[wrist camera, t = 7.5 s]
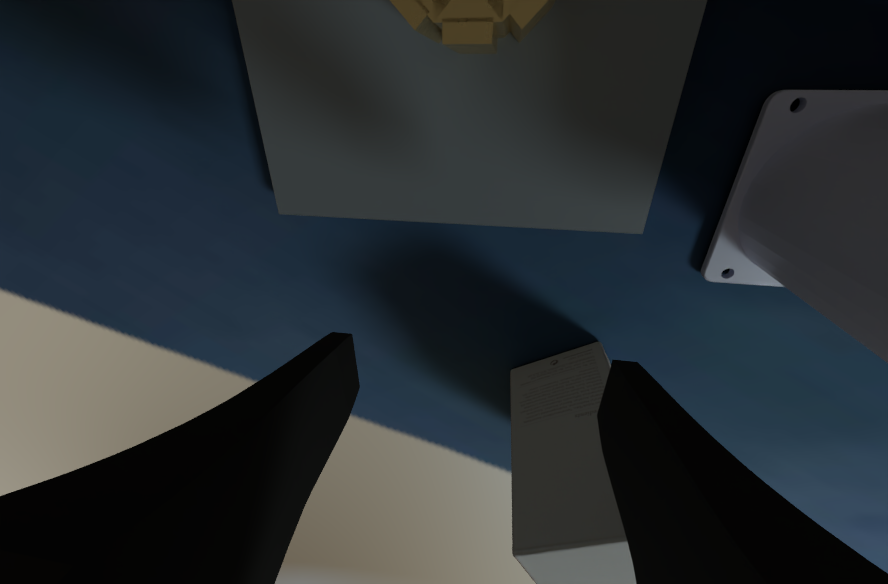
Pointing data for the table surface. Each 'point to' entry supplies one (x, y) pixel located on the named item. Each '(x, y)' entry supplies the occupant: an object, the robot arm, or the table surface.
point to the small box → (564, 473)
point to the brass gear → (473, 21)
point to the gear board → (468, 112)
